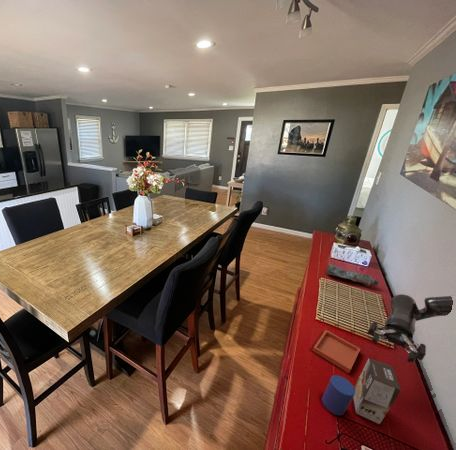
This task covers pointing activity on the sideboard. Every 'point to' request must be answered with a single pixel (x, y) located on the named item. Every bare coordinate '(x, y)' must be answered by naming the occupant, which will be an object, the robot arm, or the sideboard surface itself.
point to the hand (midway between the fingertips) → (391, 350)
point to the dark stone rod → (351, 275)
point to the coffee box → (375, 390)
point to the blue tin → (338, 395)
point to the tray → (336, 351)
